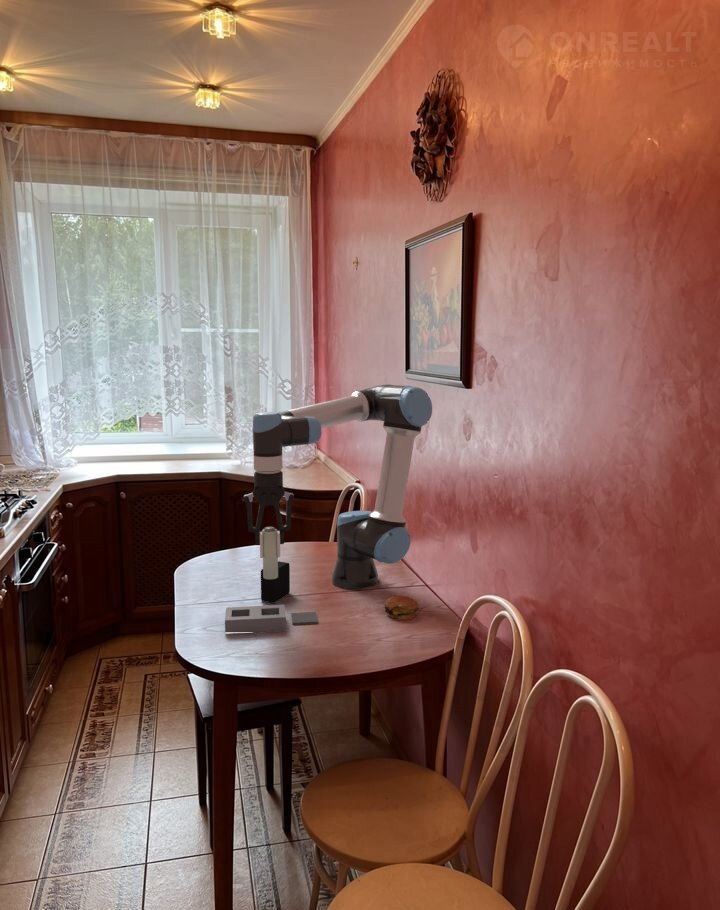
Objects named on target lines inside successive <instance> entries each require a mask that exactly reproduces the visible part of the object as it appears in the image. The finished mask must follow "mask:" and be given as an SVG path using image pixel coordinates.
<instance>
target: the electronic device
mask: <svg viewBox="0 0 720 910" xmlns="http://www.w3.org/2000/svg"><path fill="white" fill-rule="evenodd" d="M290 572H291V571H290V563H289V562H285V561H279V560H278V578H276V579H264V578H263V568H261V570H260V601H262V602H266V603H271V604H275V603H276V601H277V602H278V601H280V600H282V599H283V598H284V597H286V596H288V595H289V594H290V590H291V589H290V588H291V586H290V585H291V583H290V580H291V577H290V574H291V573H290Z"/></svg>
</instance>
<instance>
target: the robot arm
mask: <svg viewBox="0 0 720 910" xmlns="http://www.w3.org/2000/svg"><path fill="white" fill-rule="evenodd" d="M432 414H433V403H432V399H431V397H430V396H429V393H427V391H426V390H425V389H423V388H421V387H417V386H413V385H398V384H396V385H395V384H381V385H377V386H373V387H368V388H366V389H361V390H356V391H354V392H352V393H351V394H350V396H345V397H341V398H336V399H331V400H327V401H323V402H319V403H314V404H310V405H305V406H301V407H297V408H292V409H289V410H288V409H287V410H283V411H279V412H277V411H260V412H257V413H255V414H254V415H253V417H252V418H253V419H252V430H251V431H252V442H253V443H252V445H253V446H252V447H253V449H252V450H253V470H254V472H253V482H254V483H253V485H254V486H253V487H254V488H253V490H252V492H251V493H248V494H247V493H246V494H244V495H243V501H244V502H245V505H246V515H247V529H248V532H249V533H253V534H254V535H255V538H254V539H255V545H256V546H259V558H260V559H263V534H262V531H261V528H262V523H263V522H262V521H263V516H264V513H265V512H264V511H265V507H268V506H272V507H273V508H274V513H275V517H276V518H275V519H276V523H277V527H278V530H277V557H278V558H281V545H284V544H285V533H286V532H287V531H291V530H292V529H291V528H292V505H293V504H292V503H293V500H294V498H295V494H294V493H293V492H289V491H285V488H284V482H283V480H284V478H283V471H282V470H283V467H284V466H283V448H285V447H294V446H304V445H306V446H308V445H311V444H316V443H318V442H319V441H320V439H321V438H322V437H321V436H322V429H324V428H328V427H332V426H333V427H334V426H337V425H342V424H344V423H349V422H353V421H357V422H360V423H362V422H365V421H380V422H383V424H382V428H383V429H384V430H385V432H386V437H385V444H384V450H383V455H382V461H381V467H380V475H379V481H378V486H377V493H376V499H375V504H374V505H375V506H374V509H373V511H370V510H351V511H346V512H342V513H340V514H339V515H338V517H337V522H336V523H337V524H336V539H337V540H336V543H337V544H336V547H337V549H336V550H337V551H336V553H337V555H336V561H335V564H334V567H333V570H332V573H331V583H332V584H333V585H334V586H336V587H340V588H342V589H350V590H354V589H355V590H357V589H359V590H360V589H369V588H371V587H373V586H376V585H377V584H378V583H379V572H378V569H377V566H376V564H375V561H374V560H376V561H377V562H379V563H384V564H388V565H389V564H390V565H392V564H396V563H398V562H400V561H401V560H402V558H404V557H406V555H407V553H408V551H409V550H410V547H411V543H412V542H411V541H412V540H411V535H410V533H409V531H408V530H407V529H406V524H407V519H406V518H405V517H404V515H403V511H404V504H405V500H406V493H407V487H408V486H407V485H408V481H409V475H410V474H409V473H410V469H411V462H412V456H413V451H414V445H415V439H416V437H417V436H418V435H420V434H421V432H422V427H423V426H425V425H427V424H428V422H429V421H430V420H431V419H432V416H433V415H432ZM283 497H284V500H285V501H286V511H285V513H286V514H285V525H284V524H283V520H282V519H283V518H282V514H281V510H280V506H279V503H280V502H281V500H282V498H283ZM253 498H254V499H255V500H256V501H257V502H258V504H259V506H258V512H257V519H256V524H255V526H254V522H253V510H252V502H253Z"/></svg>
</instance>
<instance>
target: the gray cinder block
mask: <svg viewBox="0 0 720 910" xmlns="http://www.w3.org/2000/svg"><path fill="white" fill-rule="evenodd" d="M285 608H286V607H285V604H273V605H272V604H271V605H248V606H229V607H226V608H225V614H224V615H225V617H224V633H225V632H265V633H278V632H279V633H280V632H287V631H286V630H287V623H286V622H287V620H286V619H287V618H286V615H287V614H286V609H285Z"/></svg>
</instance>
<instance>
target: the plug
mask: <svg viewBox="0 0 720 910" xmlns="http://www.w3.org/2000/svg"><path fill="white" fill-rule="evenodd" d="M277 531H278V529H277V528H276V527H274V526H266V527H264V528H263V529H262V530H261V532H262V534H263V558H262V569H263V578H264V579H276V578H278V561H279V559H278V558H279V557H277Z"/></svg>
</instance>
